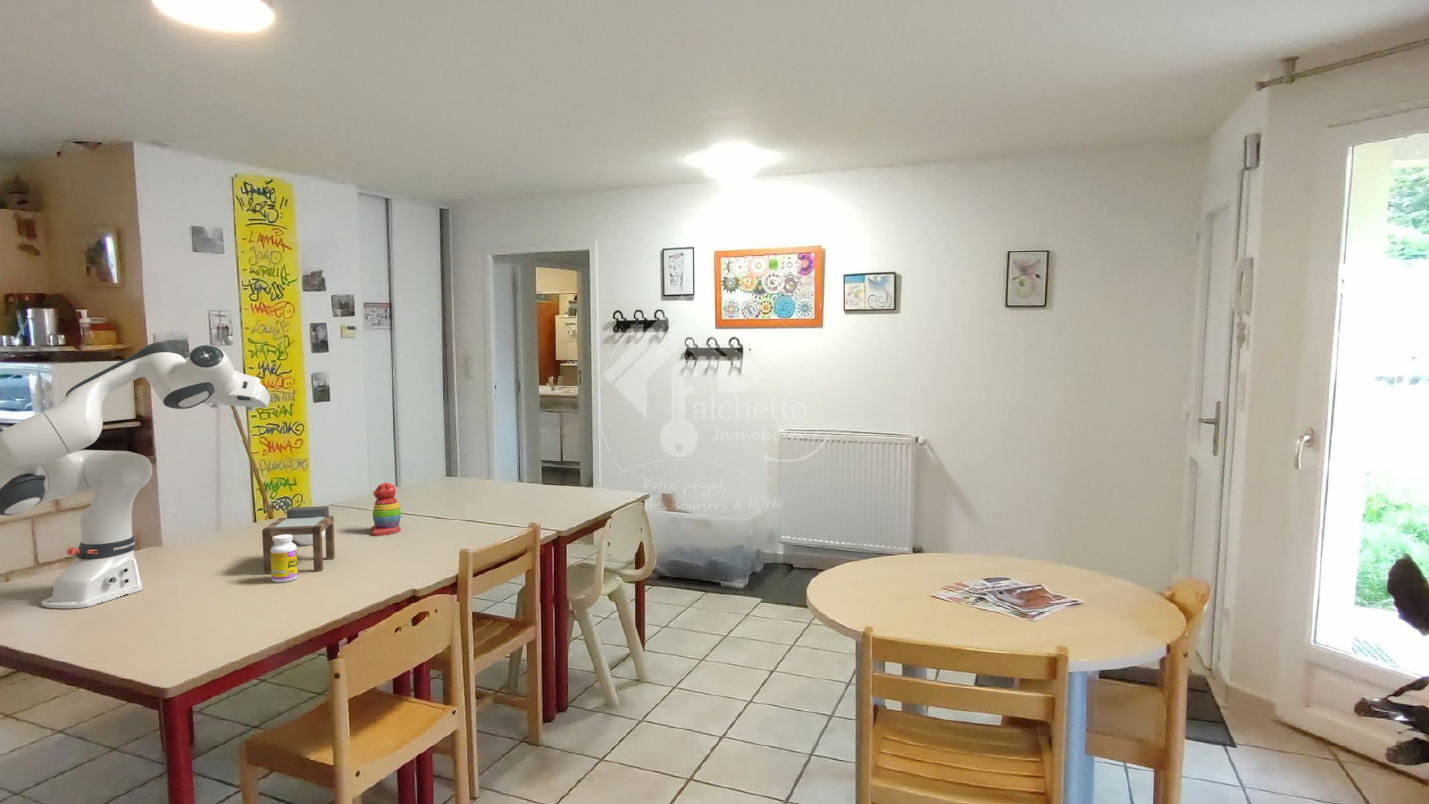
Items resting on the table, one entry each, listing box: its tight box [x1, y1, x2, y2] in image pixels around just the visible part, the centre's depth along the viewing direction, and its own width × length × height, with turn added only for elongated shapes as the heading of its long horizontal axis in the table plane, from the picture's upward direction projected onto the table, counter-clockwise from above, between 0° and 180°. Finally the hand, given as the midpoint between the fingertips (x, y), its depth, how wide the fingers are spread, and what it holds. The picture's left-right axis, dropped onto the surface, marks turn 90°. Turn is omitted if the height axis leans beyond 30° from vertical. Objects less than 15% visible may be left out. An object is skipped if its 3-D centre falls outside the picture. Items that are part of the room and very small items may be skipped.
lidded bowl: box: [292, 514, 331, 546], centre depth 260 cm, size 13×13×11 cm
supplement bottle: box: [270, 534, 299, 584], centre depth 221 cm, size 7×7×13 cm
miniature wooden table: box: [261, 515, 336, 575], centre depth 234 cm, size 15×16×14 cm
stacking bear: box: [370, 481, 402, 537], centre depth 275 cm, size 11×10×18 cm
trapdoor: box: [274, 505, 330, 528], centre depth 236 cm, size 16×11×6 cm
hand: (233, 407), depth 217 cm, fingers open, 8 cm apart
